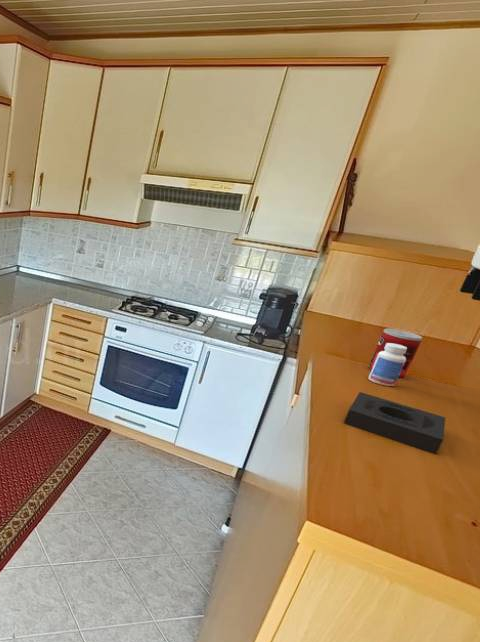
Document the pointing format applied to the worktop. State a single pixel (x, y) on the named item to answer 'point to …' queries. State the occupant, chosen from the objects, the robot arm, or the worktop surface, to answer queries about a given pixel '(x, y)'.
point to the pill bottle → (388, 365)
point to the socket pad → (397, 422)
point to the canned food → (402, 339)
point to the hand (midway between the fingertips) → (474, 296)
